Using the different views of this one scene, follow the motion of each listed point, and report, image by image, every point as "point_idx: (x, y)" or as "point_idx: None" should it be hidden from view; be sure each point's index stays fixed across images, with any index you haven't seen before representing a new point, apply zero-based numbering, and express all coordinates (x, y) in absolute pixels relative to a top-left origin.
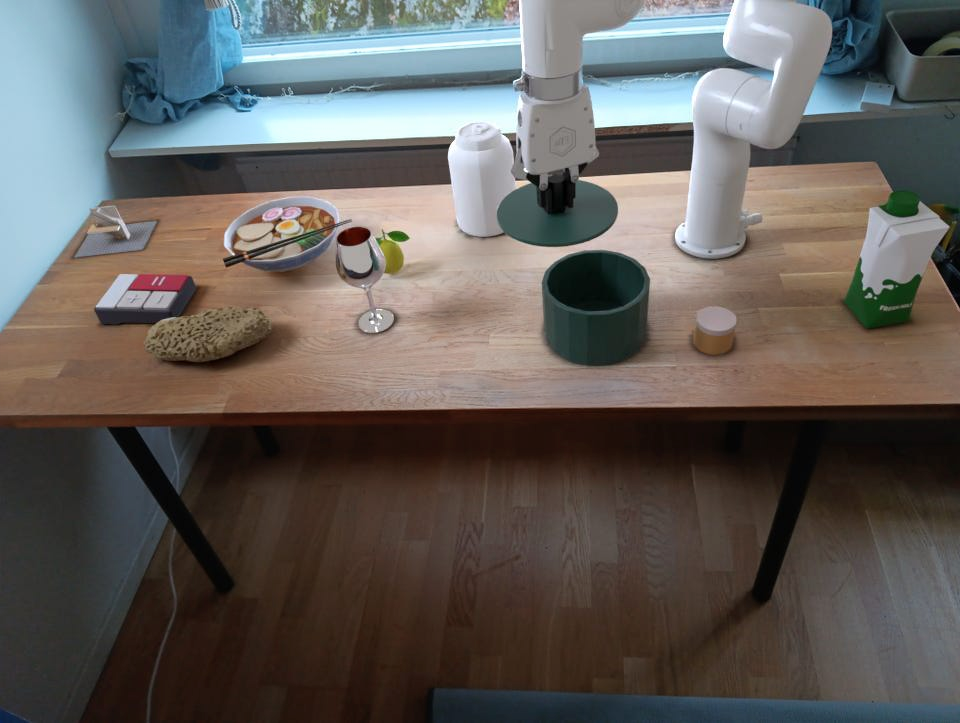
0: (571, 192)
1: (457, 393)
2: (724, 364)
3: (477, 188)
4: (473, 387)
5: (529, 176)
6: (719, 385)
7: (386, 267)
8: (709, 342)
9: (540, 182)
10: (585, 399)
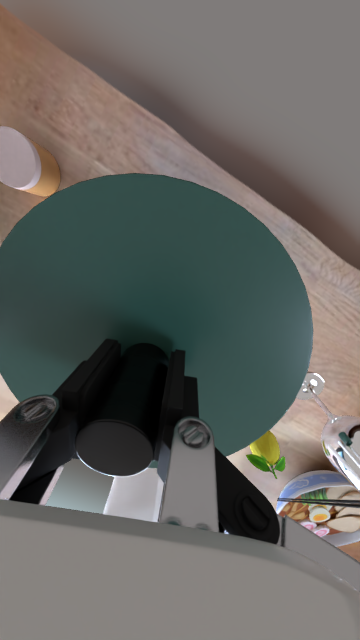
0: (88, 368)
1: (309, 260)
2: (43, 127)
3: (161, 482)
4: (292, 258)
5: (272, 532)
6: (65, 95)
7: (272, 435)
8: (41, 149)
9: (211, 461)
10: (209, 171)
